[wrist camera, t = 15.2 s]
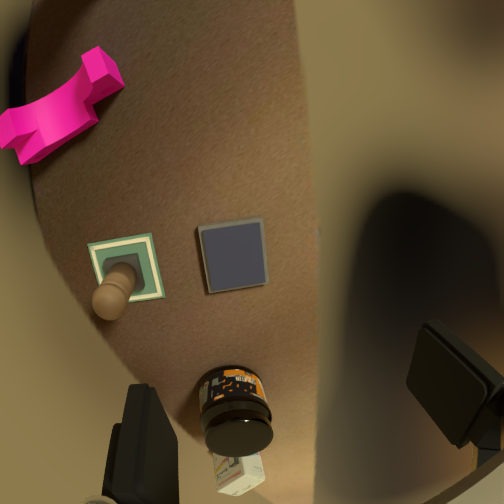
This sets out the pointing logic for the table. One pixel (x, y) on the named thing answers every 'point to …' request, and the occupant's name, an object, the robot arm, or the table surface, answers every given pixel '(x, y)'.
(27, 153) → the toy block
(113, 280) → the stamp
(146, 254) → the mat
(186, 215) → the table surface
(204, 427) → the supplement container
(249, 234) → the ink pad
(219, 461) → the ink box
